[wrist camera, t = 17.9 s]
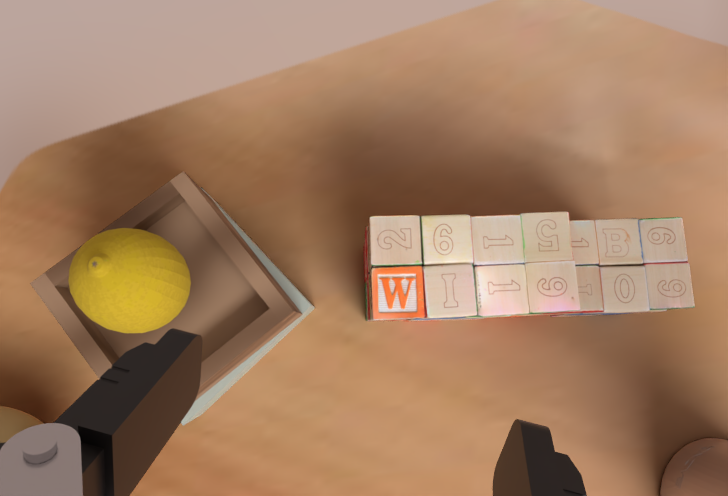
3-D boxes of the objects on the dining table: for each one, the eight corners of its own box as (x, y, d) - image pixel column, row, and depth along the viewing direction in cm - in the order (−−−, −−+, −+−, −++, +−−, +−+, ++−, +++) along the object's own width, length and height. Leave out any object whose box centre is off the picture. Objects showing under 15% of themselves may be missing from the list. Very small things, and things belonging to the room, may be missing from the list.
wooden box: (302, 314, 37) (293, 310, 30) (177, 415, 35) (139, 434, 29) (210, 197, 38) (183, 171, 32) (85, 291, 37) (30, 283, 30)
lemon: (109, 271, 32) (24, 233, 24) (193, 238, 33) (135, 191, 25) (132, 355, 31) (50, 342, 23) (220, 319, 31) (168, 294, 23)
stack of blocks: (613, 240, 44) (717, 206, 31) (621, 315, 43) (732, 309, 30) (361, 246, 43) (368, 213, 30) (363, 323, 42) (371, 320, 30)
